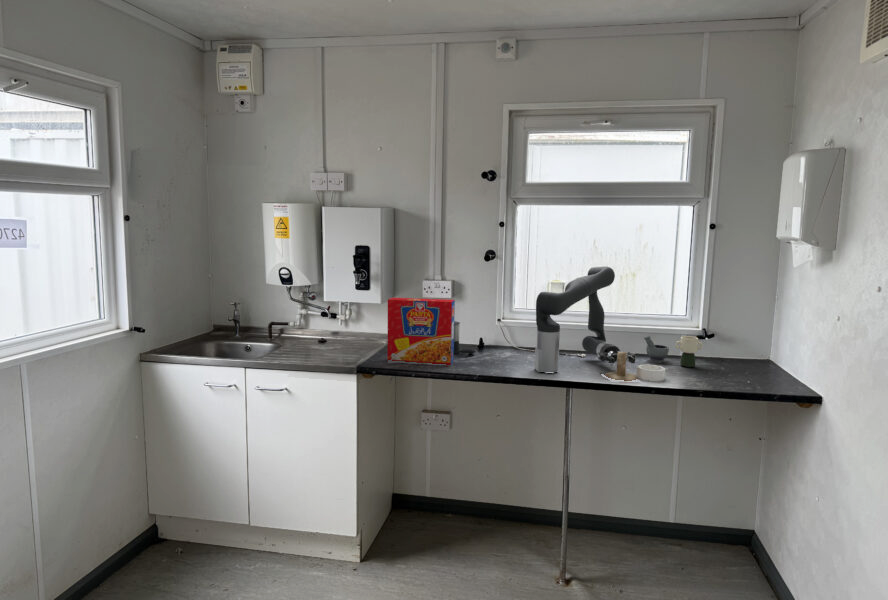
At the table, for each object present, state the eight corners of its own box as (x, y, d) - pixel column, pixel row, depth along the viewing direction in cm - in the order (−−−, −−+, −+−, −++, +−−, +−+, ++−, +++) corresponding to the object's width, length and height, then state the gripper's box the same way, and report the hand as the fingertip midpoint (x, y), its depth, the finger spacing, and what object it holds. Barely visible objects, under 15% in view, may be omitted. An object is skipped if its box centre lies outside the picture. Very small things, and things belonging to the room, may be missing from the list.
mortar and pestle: (664, 359, 260) (666, 334, 259) (671, 364, 251) (672, 337, 250) (640, 358, 262) (641, 333, 260) (645, 363, 252) (646, 337, 251)
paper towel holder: (612, 381, 220) (613, 356, 218) (600, 373, 231) (602, 349, 230) (641, 380, 221) (643, 356, 219) (629, 373, 232) (630, 349, 231)
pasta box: (387, 363, 246) (387, 299, 242) (392, 359, 254) (392, 297, 250) (450, 366, 241) (451, 302, 238) (453, 362, 249) (454, 299, 245)
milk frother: (438, 351, 271) (439, 320, 269) (470, 350, 274) (471, 320, 272) (444, 357, 257) (444, 325, 256) (477, 356, 260) (478, 325, 258)
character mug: (698, 365, 250) (700, 336, 248) (703, 369, 243) (705, 339, 241) (672, 364, 252) (674, 335, 250) (676, 367, 245) (678, 338, 243)
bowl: (644, 381, 221) (644, 370, 220) (633, 375, 231) (633, 364, 230) (668, 381, 222) (669, 370, 221) (656, 375, 232) (657, 364, 231)
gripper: (592, 343, 238) (606, 351, 222) (624, 343, 239) (641, 351, 223) (591, 360, 239) (605, 370, 223) (623, 360, 240) (640, 370, 224)
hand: (623, 361), depth 223 cm, fingers open, 8 cm apart
